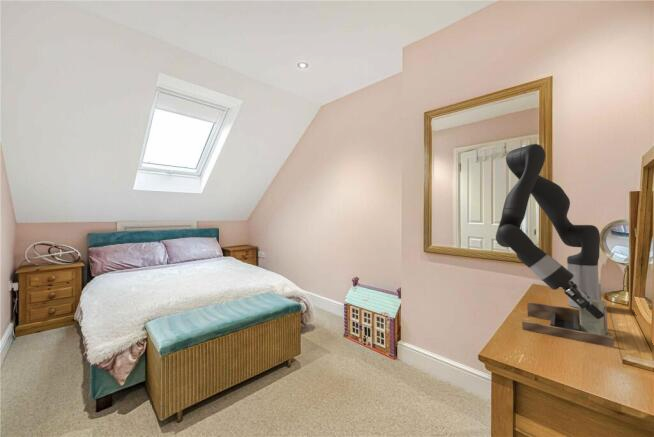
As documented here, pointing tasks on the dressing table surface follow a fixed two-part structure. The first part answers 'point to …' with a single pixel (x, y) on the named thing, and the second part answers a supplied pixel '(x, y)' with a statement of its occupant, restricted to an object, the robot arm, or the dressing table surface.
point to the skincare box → (594, 319)
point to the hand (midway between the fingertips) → (600, 313)
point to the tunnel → (562, 324)
